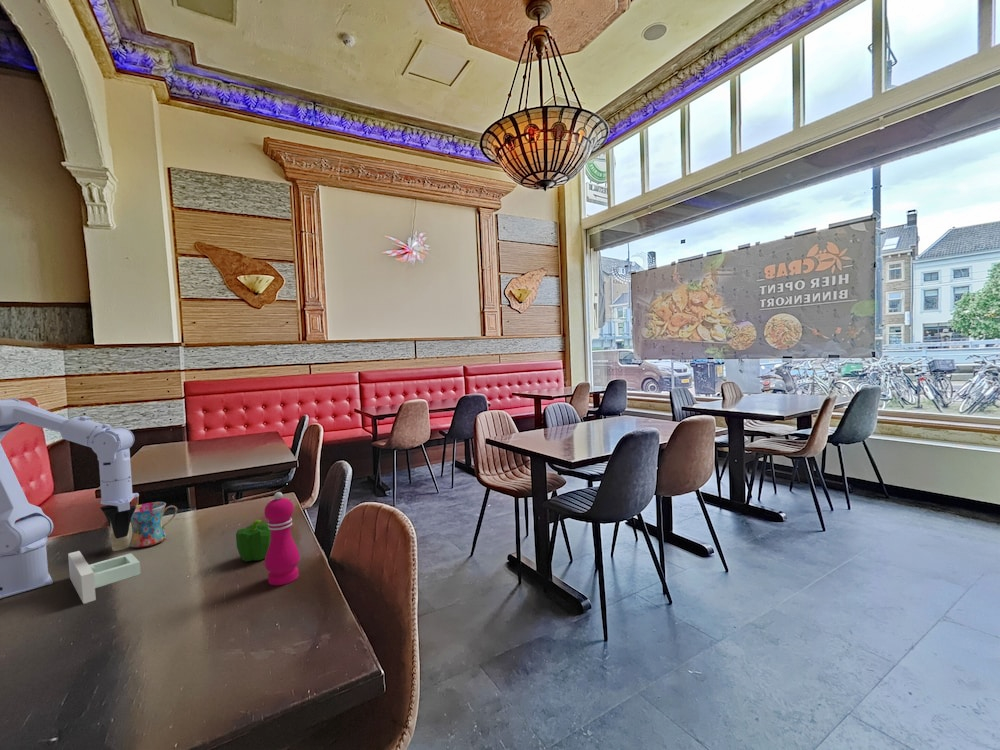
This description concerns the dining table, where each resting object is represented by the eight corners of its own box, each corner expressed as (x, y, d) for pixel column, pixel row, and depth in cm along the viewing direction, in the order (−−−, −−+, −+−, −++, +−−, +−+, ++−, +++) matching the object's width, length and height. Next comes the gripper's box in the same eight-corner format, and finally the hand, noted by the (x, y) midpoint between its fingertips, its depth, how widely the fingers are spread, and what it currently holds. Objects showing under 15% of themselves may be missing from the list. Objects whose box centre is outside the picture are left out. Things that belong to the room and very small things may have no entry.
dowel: (113, 551, 107) (111, 518, 107) (110, 548, 110) (108, 515, 109) (130, 547, 110) (128, 514, 110) (127, 544, 112) (125, 511, 112)
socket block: (91, 589, 104) (90, 576, 104) (84, 578, 110) (83, 566, 109) (140, 574, 110) (139, 561, 110) (132, 564, 116) (131, 553, 116)
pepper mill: (287, 587, 100) (281, 497, 99) (258, 586, 101) (252, 496, 101) (307, 572, 107) (302, 487, 106) (280, 571, 109) (275, 487, 108)
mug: (132, 553, 124) (129, 514, 124) (124, 545, 130) (121, 508, 130) (183, 538, 133) (181, 502, 133) (174, 532, 139) (171, 497, 139)
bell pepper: (234, 558, 117) (231, 519, 117) (268, 548, 123) (266, 511, 122) (241, 568, 111) (239, 527, 111) (278, 557, 116) (275, 519, 116)
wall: (83, 603, 97) (81, 576, 97) (69, 578, 110) (68, 553, 110) (95, 599, 99) (93, 572, 98) (81, 574, 112) (79, 550, 112)
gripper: (144, 479, 108) (148, 536, 108) (130, 471, 117) (133, 524, 117) (105, 486, 102) (109, 546, 103) (93, 477, 112) (97, 532, 112)
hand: (119, 535), depth 110 cm, fingers closed on dowel, 3 cm apart
